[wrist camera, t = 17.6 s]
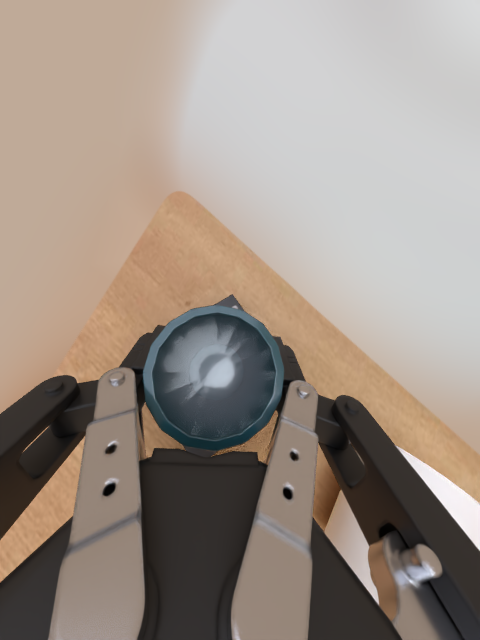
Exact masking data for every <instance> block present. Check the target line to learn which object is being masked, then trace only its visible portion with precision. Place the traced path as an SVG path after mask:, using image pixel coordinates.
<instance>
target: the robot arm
mask: <svg viewBox="0 0 480 640" xmlns="http://www.w3.org/2000/svg"><path fill="white" fill-rule="evenodd" d="M164 328H165V326H161V325H158V326H157V327H156V328H155V330H154V331H153V333H146V334H145V335H143V336H142V337H140V338H139V340H138V341H137V343H136V345H134V347H133V348H132V350H131V351H130V352H129V354H128V355H127V357H126V358H125V359H124V361H123V362H122V364H121V365H120V366H119V368H115V369H112V370H110V371H108V372H106V373H105V374H104V375H102V376H101V378H100V379H99V380H95V381H89V382H83V383H77V381H76V379H75V378H74V377H72V376H68V375H63V376H57V377H53V378H50V379H48V380H46V381H44V382H42V383H41V384H39V385H38V386H36V387H35V388H34V389H33V390H31V391H30V392H28V393H27V394H26V395H25V396H23V397H22V398H21V399H19V400H18V401H17V402H15V403H14V404H13V405H11V406H10V407H9V408H7V409H6V410H5V411H3V412H2V413H1V414H0V540H1V538H2V537H3V536H4V535H5V533H6V532H7V531H8V530H9V529H10V527H11V526H12V525H13V524H14V522H15V521H16V520H17V519H18V517H19V516H20V515H21V514H22V513H23V511H24V510H25V509H26V508H27V506H28V505H29V504H30V503H31V501H32V500H33V499H34V498H35V497H36V495H37V494H38V493H39V492H40V490H41V489H42V488H43V487H44V485H45V484H46V483H47V482H48V481H49V479H50V478H51V477H52V476H53V474H54V473H55V472H56V471H57V469H58V468H59V467H60V466H61V465H62V463H63V462H64V461H65V460H66V458H67V457H68V456H69V455H70V453H71V452H72V451H73V450H74V449H75V447H76V446H77V445H78V444H79V442H80V441H81V440H82V439H83V437H84V436H85V435H86V436H85V442H84V449H83V455H82V462H81V469H80V475H79V482H78V488H77V495H76V502H75V508H74V515H73V516H72V517H71V518H70V519H69V520H68V521H67V522H66V523H65V524H64V525H63V526H61V527H60V528H59V529H58V530H57V531H56V532H55V533H54V534H53V535H52V536H51V537H50V538H48V539H47V540H46V541H45V542H44V543H43V544H42V545H41V546H40V547H39V548H38V549H36V550H35V551H34V552H33V553H32V554H31V555H30V556H29V557H28V558H27V559H26V560H24V561H23V562H22V563H21V564H20V565H19V566H18V567H17V568H16V569H15V570H14V571H12V572H11V573H10V574H9V575H8V576H7V577H6V578H5V579H4V580H3V581H2V582H0V640H480V551H479V549H478V548H477V547H476V546H475V544H474V543H473V542H472V541H471V539H470V538H469V537H468V536H467V534H466V533H465V532H464V531H463V529H462V528H461V527H460V526H459V524H458V523H457V522H456V521H455V519H454V518H453V517H452V516H451V514H450V513H449V512H448V511H447V509H446V508H445V507H444V506H443V504H442V503H441V502H440V501H439V499H438V498H437V497H436V496H435V494H434V493H433V492H432V491H431V489H430V488H429V487H428V486H427V484H426V483H425V482H424V481H423V479H422V478H421V477H420V476H419V474H418V473H417V472H416V471H415V469H414V468H413V467H412V466H411V464H410V463H409V462H408V461H407V459H406V458H405V457H404V456H403V454H402V453H401V452H400V451H399V449H398V448H397V447H396V446H395V444H394V443H393V442H392V441H391V439H390V438H389V437H388V436H387V434H386V433H385V432H384V431H383V429H382V428H381V427H380V426H379V424H378V423H377V422H376V421H375V419H374V418H373V417H372V416H371V414H370V413H369V412H368V411H367V409H366V408H365V407H364V406H363V405H362V404H361V403H360V402H359V401H358V400H356V399H354V398H352V397H350V396H346V395H341V396H338V397H337V399H336V400H332V399H329V398H326V397H323V396H320V395H318V393H317V391H316V390H315V388H314V387H313V386H311V385H310V384H309V383H307V382H306V381H305V379H304V376H303V374H302V371H301V369H300V366H299V364H298V361H297V359H296V357H295V354H294V352H293V350H292V349H291V348H290V347H289V346H287V345H283V343H282V340H281V337H275V336H272V337H273V338H274V340H275V341H276V342H277V345H278V347H279V351H280V354H281V358H282V362H283V366H284V380H283V389H282V397H281V400H280V402H279V404H278V406H277V407H276V409H275V410H277V412H278V417H277V420H276V424H275V427H274V430H273V434H272V437H271V441H270V444H269V447H268V451H267V454H266V457H265V460H264V463H263V462H260V461H258V454H257V452H239V451H232V452H228V453H224V454H220V455H216V456H212V457H207V458H206V457H202V456H199V455H196V454H193V453H190V452H187V451H184V450H182V449H164V448H154V451H153V454H152V457H149V458H147V457H146V450H145V441H144V429H143V417H142V407H143V405H144V403H145V394H144V384H143V369H144V366H145V363H146V359H147V356H148V353H149V350H150V346H151V344H152V343H153V342H154V340H155V339H156V338H157V336H158V335H159V334H160V333H161V331H162V330H163V329H164ZM47 427H48V428H47ZM46 428H47V429H46ZM45 429H46V430H45ZM43 430H45V431H44V432H43V433H42V434H41V435H40V436H39V437H38V438H37V439H36V440H35V441H34V442H33V443H32V444H31V445H30V446H29V447H28V448H27V449H26V450H25V448H26V447H27V446H28V445H29V444H30V443H31V442H32V441H33V440H34V439H35V438H36V437H37V436H38V435H39V434H40V433H41V432H42V431H43ZM350 442H351V443H350ZM318 443H319V445H320V447H321V449H322V451H323V453H324V455H325V457H326V459H327V461H328V463H329V465H330V467H331V469H332V472H333V474H334V476H335V478H336V480H337V482H338V484H339V486H340V488H341V490H342V492H343V494H344V496H345V498H346V500H347V502H348V504H349V506H350V508H351V510H352V512H353V514H354V516H355V518H356V520H357V523H358V525H359V527H360V529H361V531H362V533H363V535H364V537H365V539H366V541H367V543H368V545H369V550H368V563H369V568H370V575H371V579H372V582H373V584H374V585H375V587H376V589H377V593H378V598H379V605H378V603H377V602H376V601H375V599H374V598H373V597H372V595H371V594H370V593H369V591H368V590H367V589H366V587H365V586H364V585H363V583H362V582H361V581H360V579H359V578H358V577H357V575H356V574H355V573H354V571H353V570H352V569H351V567H350V566H349V565H348V563H347V562H346V561H345V559H344V558H343V557H342V555H341V554H340V553H339V551H338V550H337V549H336V547H335V546H334V545H333V544H332V542H331V541H330V540H329V538H328V537H327V536H326V534H325V533H324V532H323V530H322V529H321V528H320V526H319V525H318V524H317V522H316V521H315V520H314V518H313V517H312V516H313V503H314V489H315V476H316V463H317V450H318ZM352 445H353V446H352ZM353 447H354V448H355V449H354V448H353ZM24 450H25V451H24ZM355 450H356V451H355ZM23 451H24V452H23ZM22 452H23V453H22ZM357 453H358V454H357ZM358 455H359V456H360V457H359V456H358ZM360 458H361V459H360ZM362 461H363V462H362ZM363 463H364V464H363Z"/></svg>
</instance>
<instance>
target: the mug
mask: <svg viewBox="0 0 480 640" xmlns="http://www.w3.org/2000/svg"><path fill="white" fill-rule="evenodd" d="M395 446H396V445H395ZM396 447H397V448H398V449H399V451H400V452H401V453H402V454H403V456H404V457H405V458H406V459H407V461H408V462H409V463H410V464H411V466H412V467H413V468H414V469H415V471H416V472H417V473H418V474H419V476H420V477H421V478H422V479H423V481H424V482H425V483H426V484H427V486H428V487H429V488H430V489H431V491H432V492H433V493H434V494H435V496H436V497H437V498H438V499H439V501H440V502H441V503H442V504H443V506H444V507H445V508H446V509H447V511H448V512H449V513H450V514H451V516H452V517H453V518H454V519H455V521H456V522H457V523H458V524H459V526H460V527H461V528H462V529H463V531H464V532H465V533H466V534H467V536H468V537H469V538H470V539H471V541H472V542H473V543H474V544H475V546H476V547H477V548H478V549H479V551H480V504H479V503H478V502H477V501H476V500H475V499H473V498H472V497H471V496H470V495H469V494H467V493H466V492H465V491H463V490H462V489H461V488H459V487H458V486H457V485H455V484H454V483H453V482H451V481H450V480H449V479H447V478H446V477H444V476H443V475H442V474H440V473H439V472H437V471H436V470H434V469H433V468H431V467H430V466H428V465H427V464H425V463H424V462H422V461H421V460H419V459H417V458H416V457H414V456H413V455H411V454H409V453H408V452H406V451H404V450H403V449H401V448H399V447H398V446H396ZM357 454H358V453H357ZM358 456H359V455H358ZM359 457H360V456H359ZM360 459H361V458H360ZM362 462H363V461H362ZM363 464H364V463H363ZM324 533H325V534H326V536H327V537H328V538H329V540H330V541H331V542H332V544H333V545H334V546H335V547H336V549H337V550H338V551H339V553H340V554H341V555H342V557H343V558H344V559H345V561H346V562H347V563H348V565H349V566H350V567H351V569H352V570H353V571H354V573H355V574H356V575H357V577H358V578H359V579H360V581H361V582H362V583H363V585H364V586H365V587H366V589H367V590H368V591H369V593H370V594H371V595H372V597H373V598H374V599H375V601H376V602H377V603H378V605H379V598H378V593H377V589H376V587H375V585H374V584H373V582H372V579H371V575H370V568H369V563H368V550H369V545H368V543H367V541H366V539H365V537H364V535H363V533H362V531H361V529H360V527H359V525H358V523H357V520H356V518H355V516H354V514H353V512H352V510H351V508H350V506H349V504H348V502H347V500H346V498H345V496H344V494H343V492H342V490H340V492H339V495H338V498H337V500H336V503H335V505H334V508H333V510H332V513H331V516H330V518H329V521H328V523H327V526H326V528H325V531H324Z"/></svg>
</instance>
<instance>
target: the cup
mask: <svg viewBox="0 0 480 640" xmlns="http://www.w3.org/2000/svg"><path fill="white" fill-rule="evenodd" d="M283 380H284V366H283V362H282V358H281V354H280V351H279V347H278V345H277V342H276V341H275V340H274V338H273V337H272V335H271V334H270V333H269V331H268V330H267V328H266V327H265V326H264V324H262V323H261V322H260V321H258V320H257V319H255V318H254V317H252V316H251V315H249V314H248V313H246V312H245V311H243V310H241V309H236V308H231V307H226V306H221V305H212V306H206V307H200V308H194V309H191V310H189V311H187V312H186V313H184V314H182V315H181V316H179V317H177V318H175V319H174V320H172V321H170V322H169V323H168V324H167V325H166V326H165V328H164V329H163V330H162V331H161V333H160V334H159V335H158V336H157V338H156V339H155V340H154V342H153V343H152V344H151V346H150V350H149V353H148V356H147V359H146V363H145V366H144V369H143V384H144V394H145V402H146V405H147V407H148V408H149V410H150V412H151V414H152V415H153V417H154V419H155V421H156V423H157V424H158V426H159V428H160V429H161V430H162V431H163V432H165V433H166V434H168V435H169V436H171V437H172V438H173V439H175V440H176V441H178V442H179V443H181V444H182V445H183V446H186V447H190V448H196V449H202V450H208V451H219V450H223V449H226V448H230V447H233V446H237V445H240V444H243V443H244V442H247V441H248V440H249V439H250V438H252V437H253V436H254V435H255V434H256V433H258V432H259V431H260V430H261V429H262V428H263V427H265V426H266V425H267V423H269V421H270V419H271V417H272V415H273V413H274V411H275V409H276V407H277V406H278V404H279V402H280V400H281V397H282V389H283Z"/></svg>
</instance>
